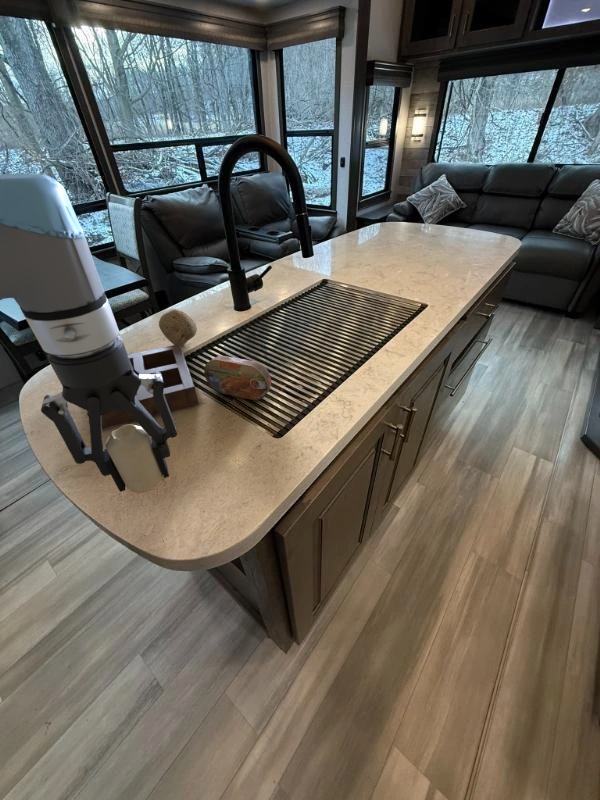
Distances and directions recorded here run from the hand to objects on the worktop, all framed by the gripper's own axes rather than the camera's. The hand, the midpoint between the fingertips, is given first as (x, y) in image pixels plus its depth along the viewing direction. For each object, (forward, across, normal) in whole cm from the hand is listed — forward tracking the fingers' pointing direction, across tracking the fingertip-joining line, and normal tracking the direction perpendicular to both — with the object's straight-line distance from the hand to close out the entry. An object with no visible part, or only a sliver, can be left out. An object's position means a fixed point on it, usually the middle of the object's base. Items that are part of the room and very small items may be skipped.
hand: (144, 477), depth 51 cm
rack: (+3, +1, +29) cm, 29 cm away
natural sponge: (+3, +12, +47) cm, 49 cm away
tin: (+3, +20, +19) cm, 28 cm away
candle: (+1, 0, 0) cm, 1 cm away
